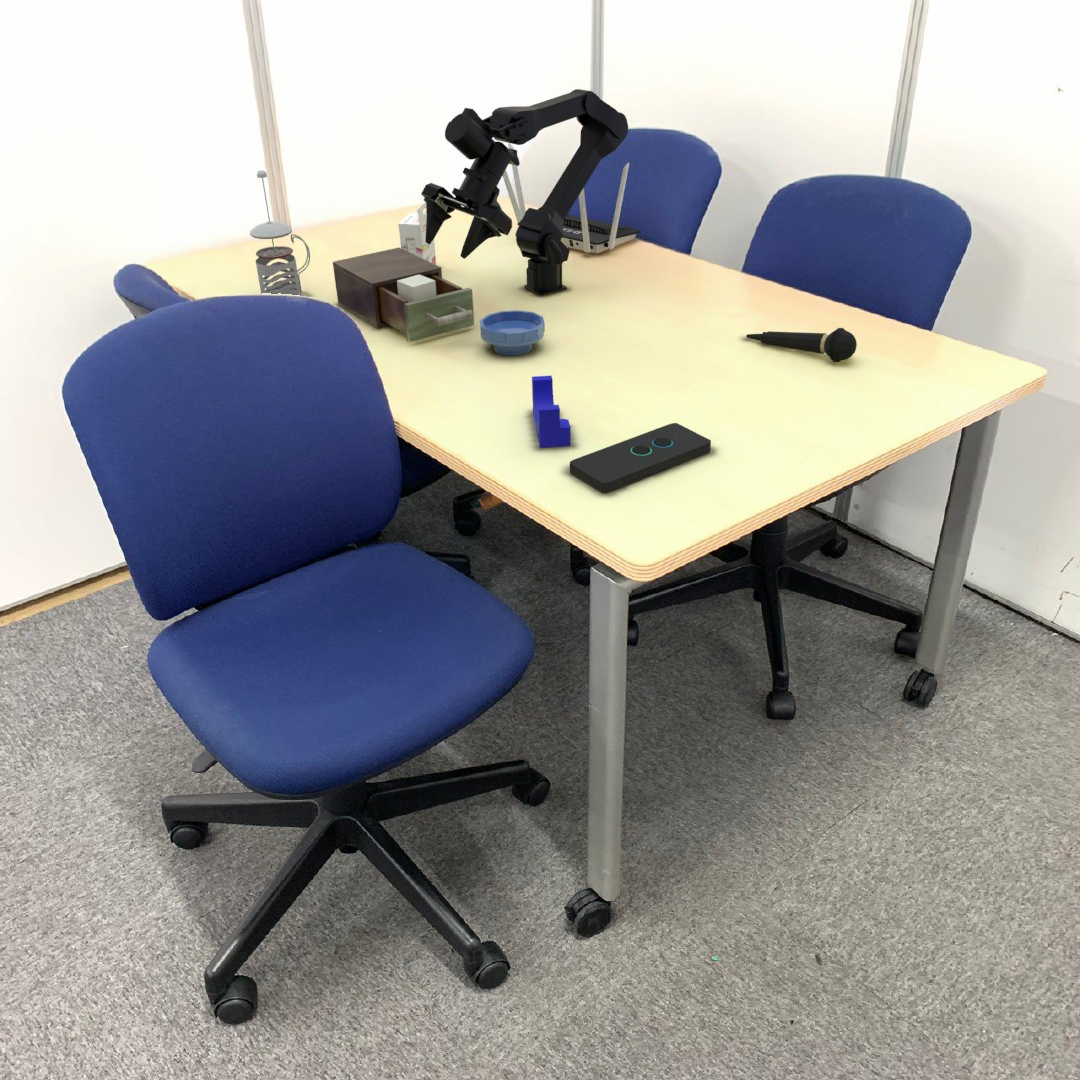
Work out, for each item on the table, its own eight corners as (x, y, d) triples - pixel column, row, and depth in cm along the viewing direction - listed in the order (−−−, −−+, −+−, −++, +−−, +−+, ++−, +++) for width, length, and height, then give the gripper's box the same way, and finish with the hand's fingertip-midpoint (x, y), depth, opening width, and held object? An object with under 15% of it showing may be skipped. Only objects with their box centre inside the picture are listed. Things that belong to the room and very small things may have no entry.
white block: (422, 311, 192) (419, 274, 188) (438, 318, 189) (435, 280, 185) (400, 318, 189) (396, 280, 185) (416, 325, 186) (412, 287, 182)
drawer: (489, 333, 185) (487, 296, 181) (425, 350, 179) (421, 313, 175) (432, 302, 199) (429, 268, 196) (370, 317, 193) (366, 282, 189)
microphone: (742, 358, 183) (850, 370, 171) (737, 331, 179) (846, 342, 167) (756, 340, 185) (863, 351, 173) (751, 313, 182) (859, 322, 170)
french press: (253, 295, 208) (230, 168, 194) (309, 287, 211) (291, 161, 198) (261, 311, 200) (238, 179, 187) (320, 301, 204) (302, 171, 190)
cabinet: (444, 311, 198) (441, 267, 193) (377, 328, 191) (372, 283, 186) (403, 289, 209) (399, 247, 205) (338, 304, 202) (332, 261, 198)
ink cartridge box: (415, 266, 221) (408, 197, 213) (437, 267, 220) (431, 198, 213) (402, 279, 214) (395, 208, 206) (425, 280, 213) (419, 209, 205)
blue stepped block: (570, 446, 149) (570, 408, 146) (539, 447, 149) (538, 410, 146) (561, 410, 159) (561, 374, 156) (532, 412, 159) (531, 376, 156)
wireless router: (661, 243, 232) (665, 151, 221) (598, 269, 217) (599, 171, 206) (547, 219, 250) (546, 133, 240) (483, 241, 236) (478, 151, 225)
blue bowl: (521, 331, 188) (520, 305, 185) (557, 349, 180) (556, 323, 177) (469, 346, 182) (467, 319, 180) (504, 365, 175) (502, 338, 172)
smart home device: (714, 440, 146) (604, 483, 136) (713, 451, 147) (604, 494, 137) (674, 420, 151) (567, 460, 142) (673, 431, 152) (567, 471, 143)
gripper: (544, 209, 188) (503, 284, 189) (472, 183, 198) (434, 255, 198) (514, 177, 179) (472, 257, 179) (440, 152, 188) (400, 228, 189)
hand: (444, 250), depth 187 cm, fingers open, 9 cm apart
